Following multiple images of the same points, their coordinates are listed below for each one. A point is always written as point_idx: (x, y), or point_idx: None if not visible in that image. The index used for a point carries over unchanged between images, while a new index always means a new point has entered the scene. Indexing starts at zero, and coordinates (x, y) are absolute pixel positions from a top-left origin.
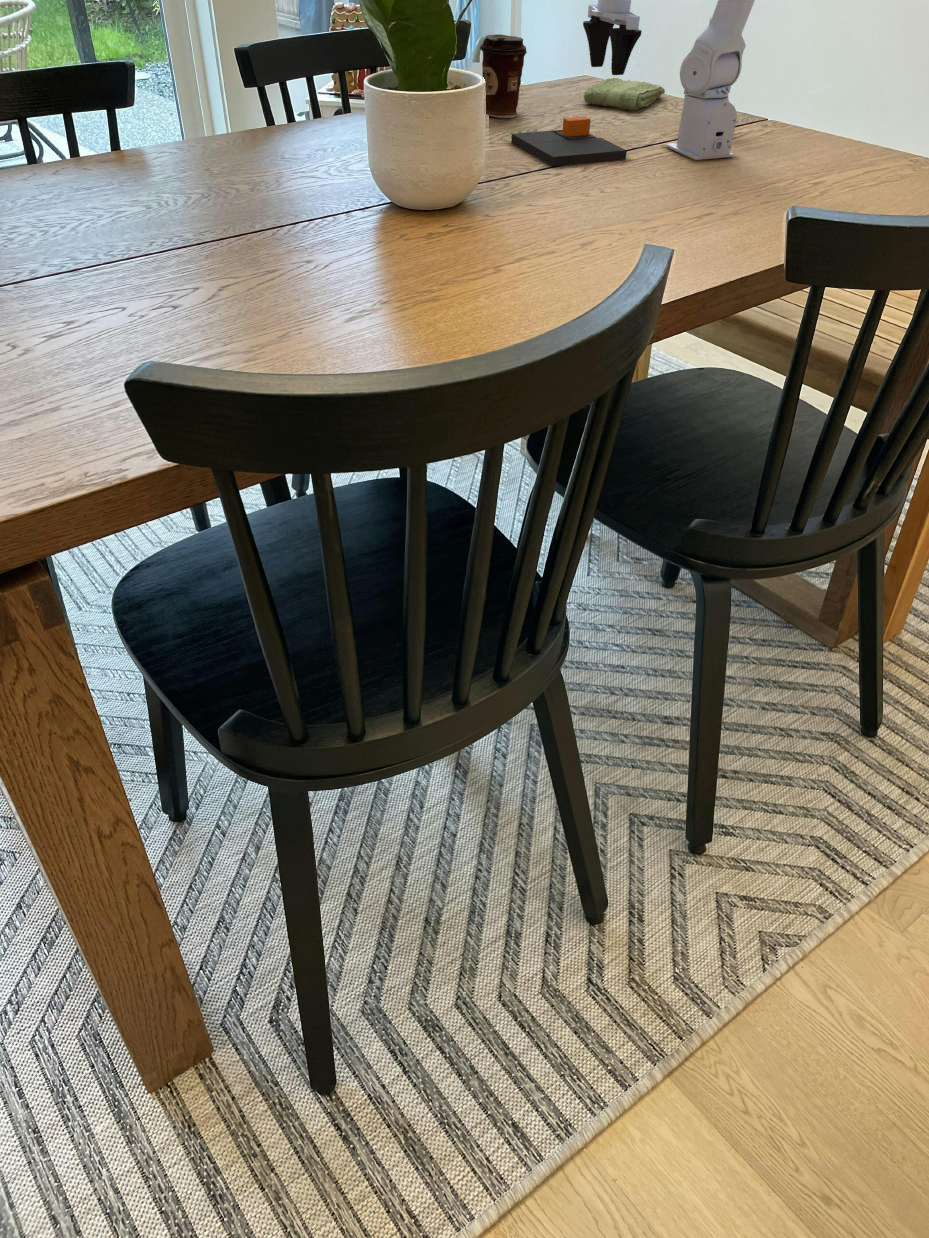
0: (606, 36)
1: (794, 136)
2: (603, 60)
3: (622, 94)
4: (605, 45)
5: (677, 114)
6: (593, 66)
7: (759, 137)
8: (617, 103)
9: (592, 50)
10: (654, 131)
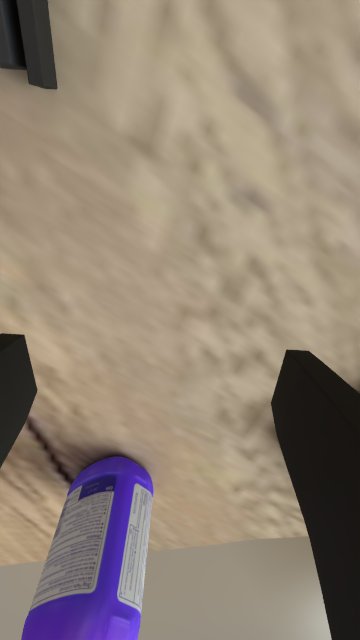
0: (340, 613)
1: (4, 539)
2: (278, 432)
3: None
4: (313, 528)
5: (224, 484)
6: (288, 356)
7: (2, 503)
8: None
9: (337, 419)
10: (90, 373)
